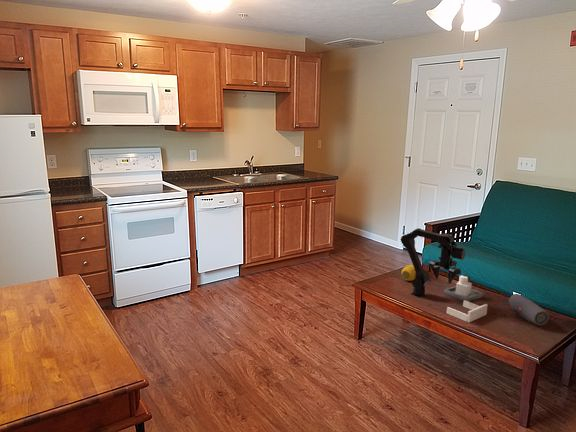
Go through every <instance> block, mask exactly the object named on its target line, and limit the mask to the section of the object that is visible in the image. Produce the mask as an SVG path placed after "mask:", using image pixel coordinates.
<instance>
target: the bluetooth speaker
mask: <svg viewBox="0 0 576 432" xmlns="http://www.w3.org/2000/svg"><path fill="white" fill-rule="evenodd" d="M508 305H510V308H512V309H513V310H515V311H516V312H517V313H518V315H520V316H521V318H523V319H525V320H526V321H528V322H530V323H533V324H535V325H537V326H544V325H546V324H547V323H548V321H549V320H550V316H549V313H548V312H547V311H546V310H545V309H543V308H542V307H540V306H539V305H538V304H536V303H535V302H534V301H532V300H530V299H529V298H527V297H526V296H523V295H521V294H519V293H514V294H512V295H511V296H510V297H509V299H508Z"/></svg>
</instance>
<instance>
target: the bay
mask: <svg viewBox="0 0 576 432" xmlns="http://www.w3.org/2000/svg"><path fill="white" fill-rule="evenodd" d="M462 307H464V308H467V309H469V310H468V311H467V313H464V312H462V311H459V310H458V309H454V308H452V307H449V306H447V307H446V314H447V315H450V316H451V317H455V318H457V319H459V320H462V321H464V322H467V323H471V322H473V321H476V320H478V319H480V318H482V317H484V316H487V313H488V307H489V306H488V303H484V304H482V305H479V304H476V303H473V302H471V301H469V302H468V301H465V300H464V301H462Z"/></svg>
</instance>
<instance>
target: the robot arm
mask: <svg viewBox="0 0 576 432" xmlns="http://www.w3.org/2000/svg"><path fill="white" fill-rule="evenodd" d="M418 237H420V238H425V239H428V240H431V241H434V242H437V243H438V244H439V245H438V246H437V248H438V249H440V256H438V259H439V260H431V261H429V262H428V266H429V268H431V270H432V272H433V275H434V277H435V279H436V280H438V278H439V273H440V269H444V270H446V271H448V274H447V277H448V279H447V280H448V284H449V285H451V283H452V281H453V279H454V278H455V276H457V275H462V274H461V273H462V270H461V269H460V268H458V267H457V264H458V261H456V260H453V259H457V260H462V261H464V259H465V258H466V250H465V247H460V246H458V244H457V243H456V241H455V238H454V236H453V234H450V233H437V232H433V231H430V230H425V229H421V228H415V229H414V230H412V231H411V232H409V233H406V234H403V235H402V236H401V237H400V242H401V244H402V245H403V246H402V247H404V248H405V249H406V250H407V254H408V256H409V257H410V261H411V263H412V264H413V266H414V269H415V278H416V279H415V281H414V280H413V281H412V282H411V283H412V284H411V285H412V287H413V288H412V292H411V295H413V296H415V297H417V298H422V297H426V296H427V293H426V288H425V285H427V284H428V283H429V282H430V277H431V276H430V274H429V271H428V270H425V269H423V268H424V267H423V264H422V262H421V260H420V257H419V255H418V252H417V249H416V246H415V245H416V242H415V241H416V240H415V239H416V238H418ZM425 293H426V294H425Z"/></svg>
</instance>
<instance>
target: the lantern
mask: <svg viewBox="0 0 576 432" xmlns="http://www.w3.org/2000/svg"><path fill="white" fill-rule="evenodd" d="M423 269H424V270H425V267H423ZM400 278H403V279H404V280H405V281H407V282H411V281H412V282H413V281H414V280H416V278H415V269H414V266H413V263H412V264H409V265H406V266H404V268H402V270H401V276H399V277H398V279H400Z"/></svg>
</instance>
